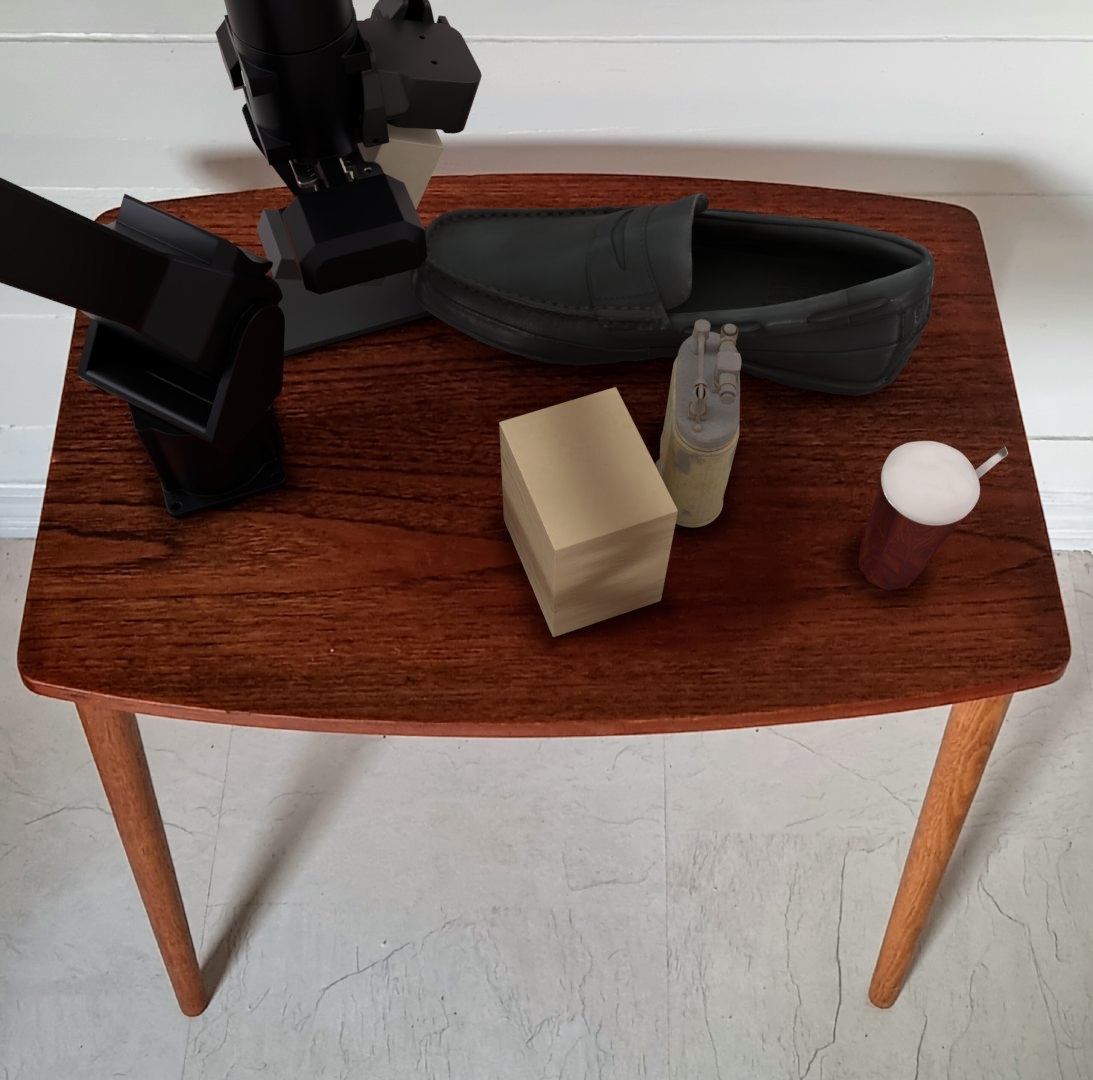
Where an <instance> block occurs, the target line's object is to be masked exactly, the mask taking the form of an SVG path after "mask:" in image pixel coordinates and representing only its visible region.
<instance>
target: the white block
mask: <svg viewBox="0 0 1093 1080" xmlns="http://www.w3.org/2000/svg"><path fill="white" fill-rule="evenodd" d="M387 128H388V135H389V143H386V144H382V145H378V146H374V147H370V148H366V147H364V144H363V142H362V143H358V144H357V145H358V147H359V149H360V152H361V154H362V156H363V159H364V160H366V161H374V162H377V163H378V164H380V166H381V167H382V169H383V172H384V173H385V174H387V175H389V176H391V177H393V178H395V179H397V180H399V181H401V182H404V184H405V186H406V188H407V191H408V193H409V195H410V197H411V200H412V202H413V204H414V206H415V209H416V210H417V209H418V206H419V205H420V202H421V200H422V198H423V195H424V194H425V190H426V188H428V184H429V182H430V181H431V178H432V176H433V174H434V171H435V169H436V167H437V166H438V163H439V160H440V158H441V157H442V154H443V151H444V149H445V146H444V144H443V142H442V140H441V137H440V135H439V133H438V130H436V129H417V128H400V127H395V126H392V125H390V124H388V123H387ZM340 162H341V164H342V166H343V169H344V171H345V173H346V168H345V166H344V164H343V161H342V159H341V158H340ZM350 174H351V176H352V178H353V172H350ZM353 179H354V178H353ZM256 230H257V233H258V236H259V239H260V242H261V245H262V248H263V251H264V253H265V258H266V259H267V260H269V261H272V262H273V266H272V268H271V269H270V271H271V275H272V277H274V278H275V279H288V280H301V281H302V278H301V275H300V273H299V270H298V267H297V264H296V262H295V259H294V256H293V253H292V250H291V247H290V244H289V240H288V237H287V234H286V231H285V228H284V226H283V223H282V220H281V217H280V215H279V212H278V209H271V208H270V209H269V208H263V209H262V212H261V214H260V218H259V221H258V224H257V226H256ZM384 279H385V277H383V278H380V279H376V280H372V281H368V282H365V283H361V284H357V285H366V286H380V287H381V286H382V284H383V281H384Z"/></svg>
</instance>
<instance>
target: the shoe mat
mask: <svg viewBox="0 0 1093 1080" xmlns="http://www.w3.org/2000/svg"><path fill="white" fill-rule="evenodd" d="M270 277H271V278H272V279H273V280H274V281H275V282H276V283H278V284H279V287H280V289H281V291H282V295H283V298H282V300H281V301H280V302H279V303H278V307H280V308H281V310H282V311H283V314H284V317H285V338H284V358H285V357H287V356H291V355H295V354H298V353H302V352H306V351H309V350H313V349H316V348H321V347H324V346H327V345H330V344H334V343H338V342H341V341H345V340H348V339H352V338H355V337H359V336H364V335H365V334H370V333H374V332H376V331H380V330H381V331H382V330H384V329H387V328H391V327H394V326H399V325H401V324H405V323H408V322H412V321H415V320H419V319H423V318H426V317H430V316H433V315H432V314H431V313H430V312H428V311H427V310H426V309H425V308H423V307H422V306H421V305H420V304H419V303H418V301H417V300H416V298H415V297H414V295H413V292H412V288H411V278H410V270H409V271H405V272H402V273H398V274H394V275H391V276H387V277H385V279H384V281H383V284H382V286H381V287H380V286H366V285H354V286H350V287H346V288H343V289H339V290H335V291H332V292H328V293H324V294H321V295H319V294H316V293H314V292H311V291H308V290H306V289H305V287H304V284H303V281H301V280H288V279H275V278H274V277H273V276H270Z"/></svg>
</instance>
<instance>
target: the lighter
mask: <svg viewBox="0 0 1093 1080" xmlns="http://www.w3.org/2000/svg"><path fill="white" fill-rule="evenodd" d="M710 327H711V325H710V323H709V322H708V321H707V320H704V319H700V320H697V321H696V322H695V326H694V331H693V333H692V336H690V337H689V338H687V339H686V340H685V341H684V342H683V344H682V345H681V347H680V349H679V352H678V356H677V357H675V359H674V362H673V364H672V365H673V366H672V371H671V378H670V385H669V390H668V397H667V403H666V410H665V415H664V417H665V418H664V423H663V430H662V433H661V435H660V445H659V447H660V448H659V458H658V459H657V460H656V461H655V462H654V464H655V466H656V468H657V470H658V472H659V474H660V476H661V478H662V480H663V482H664V484H665V486H666V488H667V490H668V492H669V494H670V496H671V498H672V500H673V502H674V504H675V506H676V508H677V510H678V513H677V518H676V524H675V525H677V526H681V527H686V528H700V527H704V526H707V525H709V524H711V523H713V522H714V521H715V520H716V519H717V518H718V517H719V516H720V514H721V512H722V509H723V508H724V497H725V493H726V489H727V485H728V482H729V478H730V473H731V471H732V465H733V462H734V458H735V454H736V449H737V445H738V441H739V437H740V415H741V414H740V412H741V410H740V408H741V407H740V406H741V403H740V402H741V379H740V378H741V377H740V375H741V374H740V372H741V370H740V368H741V356H740V353H738V351H737V349H736V347H735V345H736V339H737V335H738V328H737V327H736V326H735V325H734V324H725V325H723V327H722V329H721V333H720V334H718V333H715V332H710Z"/></svg>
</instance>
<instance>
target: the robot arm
mask: <svg viewBox="0 0 1093 1080" xmlns="http://www.w3.org/2000/svg"><path fill="white" fill-rule="evenodd" d="M223 2H224V6H225V10H226V13H227V14H224V15H223V17H224V19H223V21H222V22H221V23H220V25H219V26H218V27H217V29H216V31H215V32H214V33H215V35H216V40H217V43H218V47H219V48H218V49H219V51H220V54H221V59H222V62H223V65H224V68H225V71H226V73H227V76H228V78H229V79H228V80H230V81H229V82H230V85H231V87H232V90H233V91H238V90H243V96H244V99H245V103H244V104H243V106H241V113H242V115H243V118H244V120H245V123H246V127H247V129H248V131H249V134H250V137H251V139H252V142H253V143H254V144H255V146H256V147H257V149H258V150H259V151H260V152H261V154H262V155H263V156H264V158H265V159H266V161H267V164H268V166H269V167H270V166H271V167H272V168H273V169H274V171H275V172H276V174H277V175H278V177H279V178H280V179H281V180H282V182H283V183H284V184H285V186H286V187H287V189H288V190H289V191H290V192H291V194H292V195H293V196H294V198H293V200H291V202H289V205H288V206H284V207H281V208H278V209H277V210H278V212H279V215H280V217H281V220H282V223H283V226H284V228H285V231H286V234H287V237H288V240H289V244H290V247H291V250H292V253H293V256H294V259H295V262H296V264H297V267H298V270H299V273H300V275H301V278H302V281H303V284H304V287H305V289H306V290H308V291H311V292H314V293H316V294H319V295H321V294H324V293H328V292H332V291H335V290H339V289H343V288H346V287H350V286H354V285H357V284H361V283H365V282H368V281H372V280H376V279H380V278H383V277H387V276H391V275H394V274H398V273H402V272H405V271H409V270H413V269H416V268H420V267H421V266H422V264H423V263H424V261H425V260H426V258H427V257H428V255H427V246H426V237H425V229H426V228H425V226H424V225H423V222H422V220H421V218H420V216H419V214H418V211H417V209H415V206H414V204H413V202H412V200H411V197H410V195H409V193H408V191H407V188H406V186H405V184H404V182H401V181H399V180H397V179H395V178H393V177H391V176H389V175H387V174H385V173H384V172H383V169H382V167H381V166H380V164H378V163H377V162H374V161H366V160H364V159H363V156H362V154H361V152H360V149H359V147H358V145H357V144H358V143H362V142H363V144H364V147H366V148H370V147H374V146H378V145H382V144H386V143H389V135H388V128H387V123H388V124H390V125H392V126H395V127H400V128H417V129H436V131H439V130H440V131H442V132H443V133H444V134H460V133H462V132H463V131H464V130H465V128H466V125H467V122H468V119H469V116H470V113H471V111H472V107H473V104H474V101H475V98H476V95H477V92H478V89H479V86H480V84H481V80H482V76H483V74H482V72H481V69H480V68H479V65H478V63H477V62H476V59H475V58H474V56H473V54H472V52H471V50H470V48H469V47H468V44H467V42H466V40H465V38H464V37H463V35H462V33H461V32H460V31H459V30H458V29H456V28H455V27H453V26H451V24H450V22H449V21H448V18H447V17H446V15H438V16H437V20H436V22H435V18H434V14H433V8H432V5H431V2H430V0H377V1H376V3H375V5H374V7H373V8H372V10H371V13H370V16H369V17H368V18H367V17H366V18H365V19H363V20H360V19H359V20H358V18H357V13H356V8H355V7H354V2H353V0H223ZM340 158H341V159H342V161H343V164H344V166H345V168H346V173H345V171H344V169H343V166H342V164H341V162H340ZM350 172H353V178H354V179H353V178H352V176H351V174H350ZM272 266H273V262H272V261H269V260H267V258H266V257H263V256H260V255H259V254H256V253H254V252H252V251H249V250H247V249H245V248H242V247H240V246H238V245H236V244H234V243H233V242H231V241H230V240H229V239H228V238H225V237H223V236H221V235H219V234H216V233H213V232H212V231H209V230H207V229H205V228H203V227H201V226H199V225H196V224H194V223H192V222H190V221H188V220H185V219H184V218H180V217H178V216H176V215H174V214H172V213H169V212H167V211H165V210H162V209H161V208H158V207H156V206H154V205H152V204H149V203H147V202H145V201H142V200H141V199H138V198H136V197H134V196H132V195H129V194H127V193H124V194H123V197H122V201H121V204H120V207H119V209H118V214H117V218H116V220H114V221H112V222H110V223H100V222H97V221H96V220H93V219H91V218H89V217H87V216H84V215H82V214H80V213H78V212H76V211H74V210H72V209H70V208H67V207H65V206H63V205H61V204H59V203H57V202H54V201H52V200H50V199H48V198H47V197H44V196H42V195H39V194H37V193H35V192H33V191H31V190H29V189H26V188H24V187H23V186H21V185H18V184H15V183H13V182H11V181H10V180H8V179H5V178H3V177H0V284H3V285H5V286H8V287H12V288H14V289H17V290H20V291H22V292H26V293H29V294H32V295H35V296H38V297H41V298H43V299H47V300H49V301H52V302H55V303H58V304H61V305H63V306H67V307H70V308H73V309H76V310H78V311H80V312H81V313H83V314H84V315H85V316H87V317H88V318H89V323H88V327H87V331H86V335H85V338H84V342H83V347H82V350H81V354H80V358H79V361H78V366H77V370H76V375H77V377H78V378H80V379H81V380H83V381H84V382H86V383H87V384H89V385H90V386H92V387H94V388H95V389H97V390H99V391H100V392H102V393H106V392H107V393H108V394H111V395H113V396H114V397H116V398H119V399H121V400H122V401H125V402H127V406H128V409H129V414H130V417H131V421H132V426H133V429H134V431H135V433H136V435H137V437H138V439H139V442H140V444H141V445H142V447H143V450H144V451H145V453H146V455H147V458H148V459H149V461H150V463H151V465H152V467H153V469H154V471H155V474H156V475H157V478H158V480H159V484H160V488H161V492H162V496H163V500H164V503H165V507H166V510H167V513H168V514H169V516H170V517H171V518H172V519H176V520H177V519H182V518H186V517H188V516H192V515H195V514H198V513H201V512H205V511H208V510H212V509H215V508H219V507H222V506H224V505H229V504H232V503H235V502H238V501H241V500H244V499H248V498H252V497H254V496H255V497H256V496H258V495H261V494H264V493H268V492H271V491H275V490H278V489H281V488H284V486H286V485H287V482H288V477H287V474H286V471H285V467H284V465H283V461H282V458H281V455H280V453H282V452H284V451H285V449H286V447H287V444H286V442H285V438H284V436H283V432H282V430H281V426H280V423H279V420H278V416H277V413H276V410H275V407H274V404H273V403H274V401H276V399H277V398H278V397H279V395H281V393H282V391H283V389H284V388H283V387H284V361H285V357H284V338H285V317H284V314H283V311H282V310H281V308H280V307H278V303H279V302H280V301H281V300H282V298H283V295H282V291H281V289H280V287H279V284H278V283H276V282H275V281H274V280H273V279H272V278H271V277H272V276H269V275H268V273H269V272H270V271H271V268H272ZM276 478H279V479H277V480H275V479H276ZM178 507H179V509H176V508H178ZM175 509H176V510H175Z"/></svg>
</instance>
